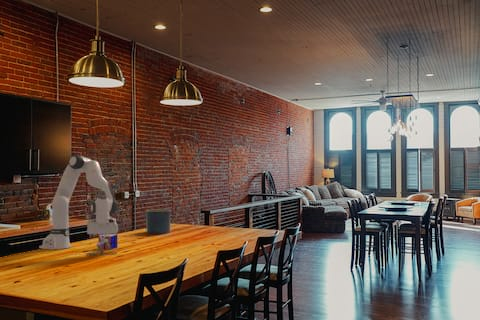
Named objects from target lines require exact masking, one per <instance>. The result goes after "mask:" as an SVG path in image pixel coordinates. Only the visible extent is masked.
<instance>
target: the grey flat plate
mask: <svg viewBox="0 0 480 320" xmlns="http://www.w3.org/2000/svg"><path fill="white" fill-rule="evenodd" d="M117 253H118V252H117V251H110V252H109V251H103V254H102V255H101V253H100V251H98V252H86V254H85V257H86V256H87V257H88V256H93V257H94V256H97V257H98V256H108V255H111V256H115V255H117Z"/></svg>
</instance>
